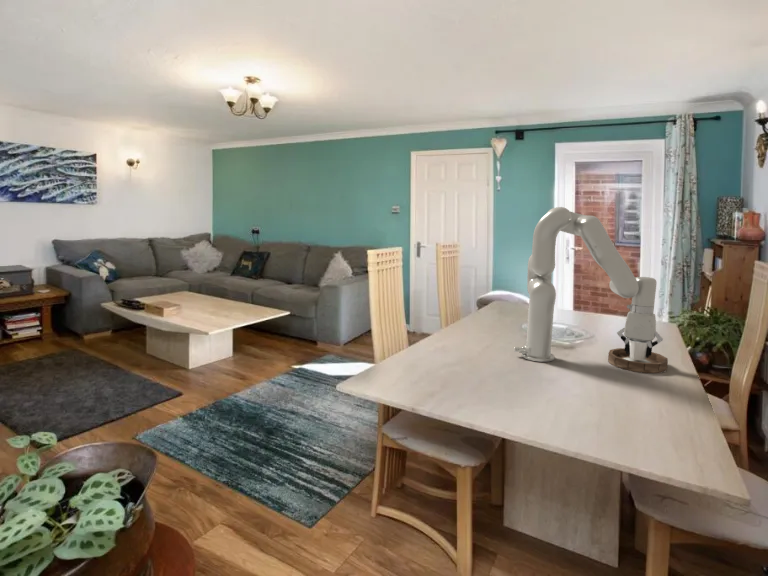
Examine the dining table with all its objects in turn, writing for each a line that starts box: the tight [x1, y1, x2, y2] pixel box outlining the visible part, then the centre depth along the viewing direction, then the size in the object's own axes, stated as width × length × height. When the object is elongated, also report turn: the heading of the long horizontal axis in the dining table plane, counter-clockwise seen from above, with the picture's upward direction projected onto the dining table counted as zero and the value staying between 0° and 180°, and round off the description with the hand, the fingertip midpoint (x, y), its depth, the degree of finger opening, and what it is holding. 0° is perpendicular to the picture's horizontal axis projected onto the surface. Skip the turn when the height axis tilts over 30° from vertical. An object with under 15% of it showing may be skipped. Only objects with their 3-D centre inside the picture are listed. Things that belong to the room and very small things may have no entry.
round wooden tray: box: [607, 347, 669, 374], centre depth 177 cm, size 20×20×4 cm
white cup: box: [629, 339, 648, 360], centre depth 176 cm, size 7×7×7 cm
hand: (637, 354), depth 176 cm, fingers closed on white cup, 6 cm apart
